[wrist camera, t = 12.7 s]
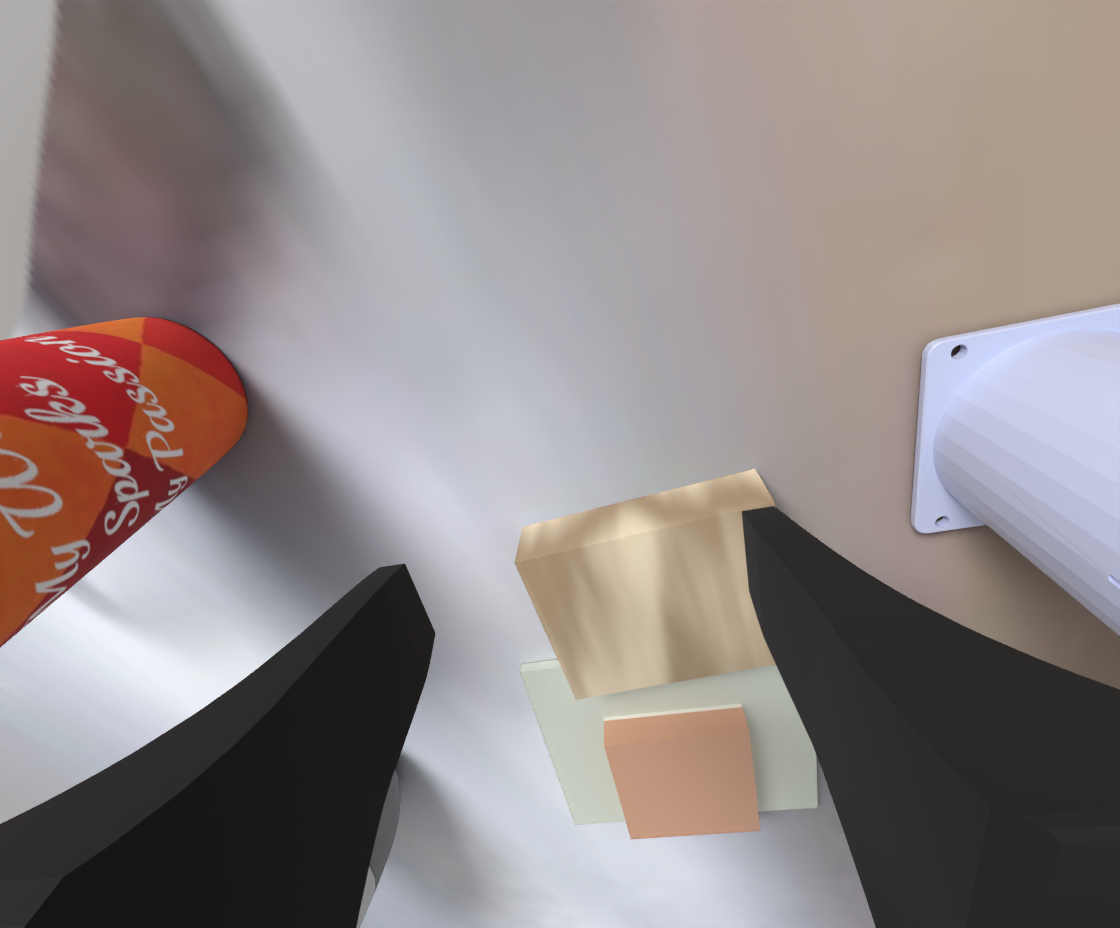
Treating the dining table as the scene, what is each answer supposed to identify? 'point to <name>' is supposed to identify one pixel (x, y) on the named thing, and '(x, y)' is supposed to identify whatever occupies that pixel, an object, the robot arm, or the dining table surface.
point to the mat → (580, 723)
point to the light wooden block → (648, 587)
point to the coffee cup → (100, 445)
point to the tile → (683, 771)
